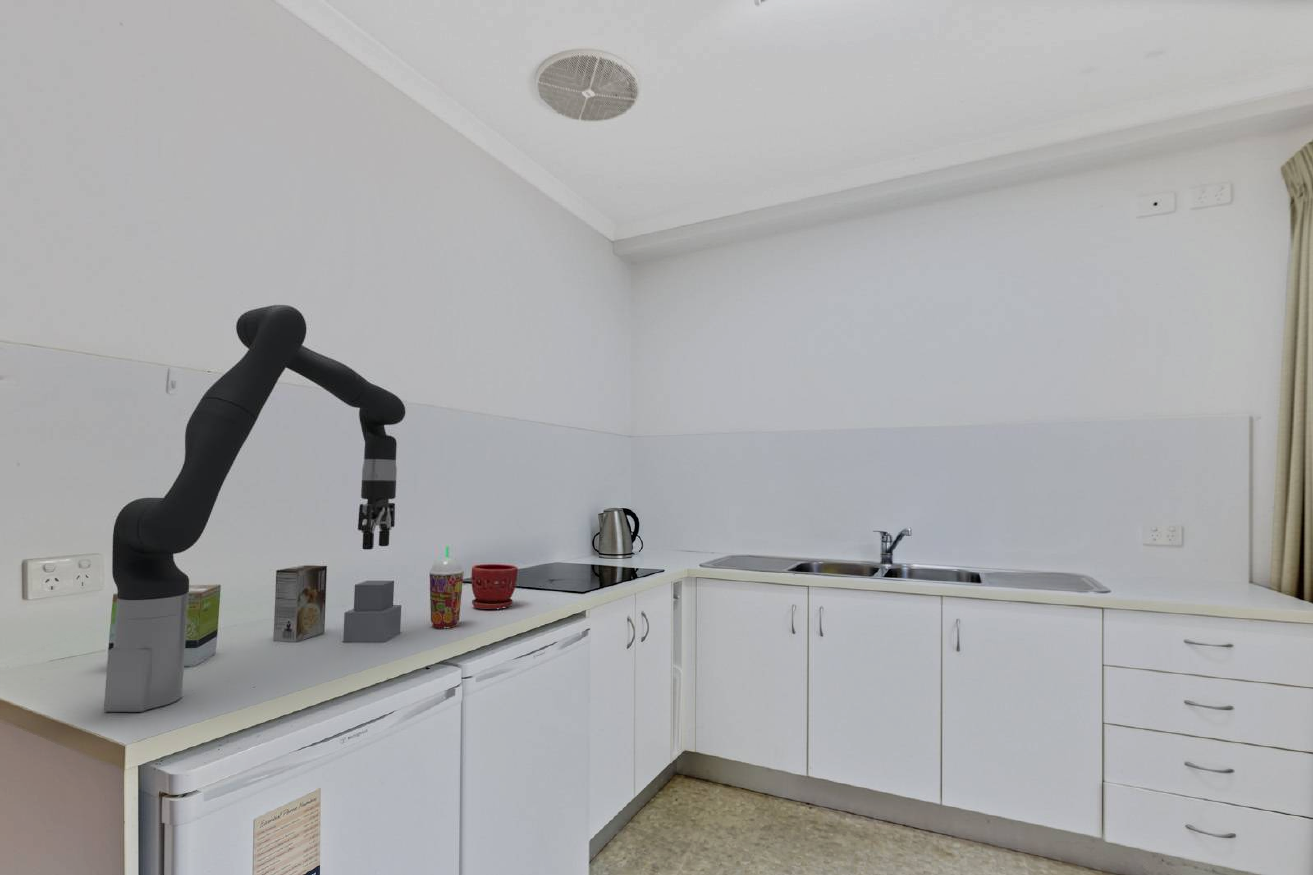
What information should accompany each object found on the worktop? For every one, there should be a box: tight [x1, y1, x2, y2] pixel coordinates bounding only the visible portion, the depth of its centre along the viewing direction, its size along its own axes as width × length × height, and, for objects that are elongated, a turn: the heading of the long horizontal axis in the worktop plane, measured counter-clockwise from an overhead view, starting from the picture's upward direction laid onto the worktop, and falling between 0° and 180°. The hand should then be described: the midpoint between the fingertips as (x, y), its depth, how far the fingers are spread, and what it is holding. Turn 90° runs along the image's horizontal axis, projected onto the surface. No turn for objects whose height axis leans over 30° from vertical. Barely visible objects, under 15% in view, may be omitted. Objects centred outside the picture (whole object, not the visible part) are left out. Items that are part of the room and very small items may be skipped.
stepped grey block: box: [342, 580, 402, 643], centre depth 146 cm, size 9×9×13 cm
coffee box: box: [272, 564, 328, 643], centre depth 146 cm, size 9×6×16 cm
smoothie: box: [428, 545, 465, 629], centre depth 158 cm, size 8×8×20 cm
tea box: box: [107, 584, 222, 668], centre depth 125 cm, size 15×10×15 cm, turn 105°
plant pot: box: [470, 563, 518, 610], centre depth 183 cm, size 13×13×12 cm
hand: (376, 547), depth 147 cm, fingers open, 8 cm apart
